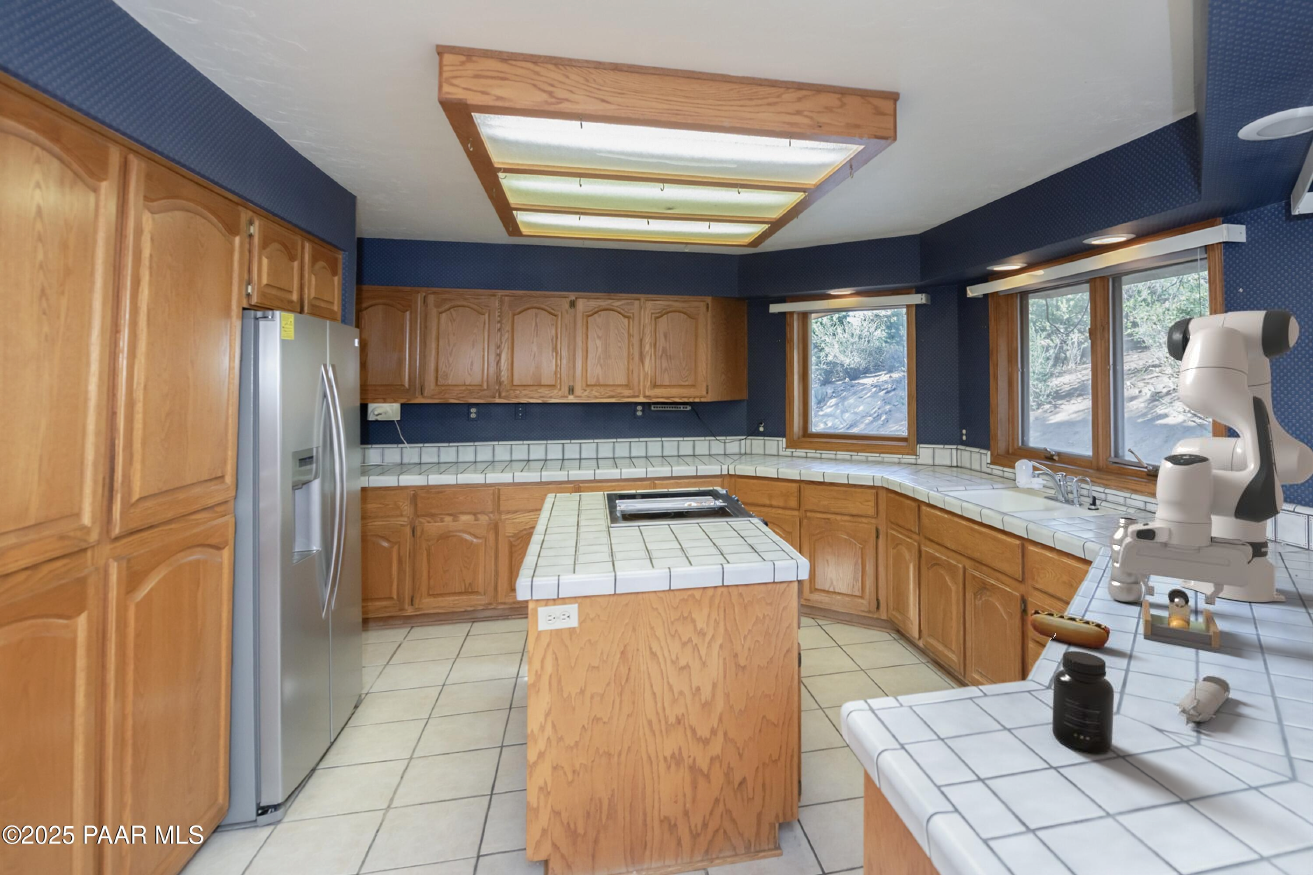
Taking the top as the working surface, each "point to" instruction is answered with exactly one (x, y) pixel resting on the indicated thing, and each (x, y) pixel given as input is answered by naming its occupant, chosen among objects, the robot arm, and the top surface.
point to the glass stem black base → (1178, 606)
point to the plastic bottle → (1120, 582)
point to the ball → (1179, 624)
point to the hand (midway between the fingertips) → (1178, 599)
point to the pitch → (1181, 630)
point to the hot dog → (1069, 629)
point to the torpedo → (1204, 699)
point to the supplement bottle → (1083, 704)
